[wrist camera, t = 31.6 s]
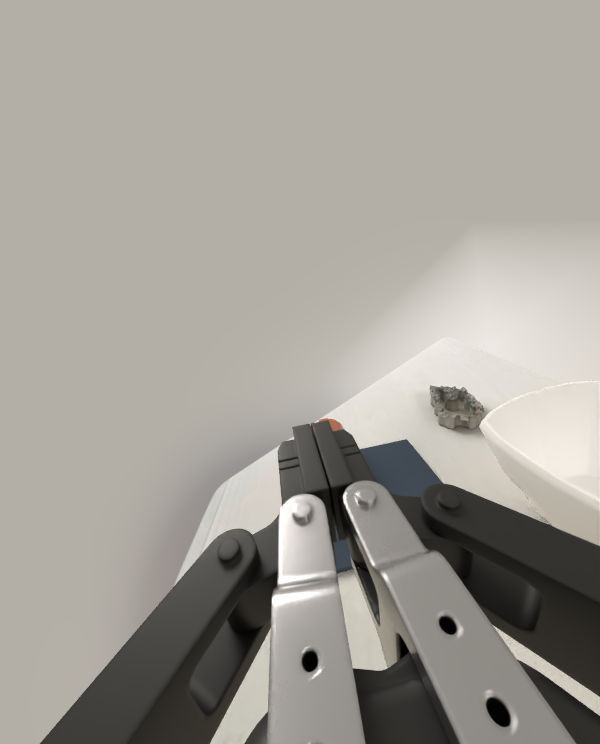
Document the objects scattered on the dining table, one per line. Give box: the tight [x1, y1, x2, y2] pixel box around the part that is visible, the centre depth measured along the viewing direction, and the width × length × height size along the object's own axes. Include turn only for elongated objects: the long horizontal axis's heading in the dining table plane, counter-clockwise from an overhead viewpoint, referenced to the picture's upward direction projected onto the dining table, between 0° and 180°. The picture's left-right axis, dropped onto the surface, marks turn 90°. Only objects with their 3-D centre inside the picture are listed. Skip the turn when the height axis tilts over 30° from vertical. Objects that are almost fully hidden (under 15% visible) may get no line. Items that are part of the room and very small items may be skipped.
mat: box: [334, 439, 443, 573], centre depth 39 cm, size 20×18×1 cm
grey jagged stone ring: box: [430, 385, 484, 429], centre depth 53 cm, size 11×8×4 cm
